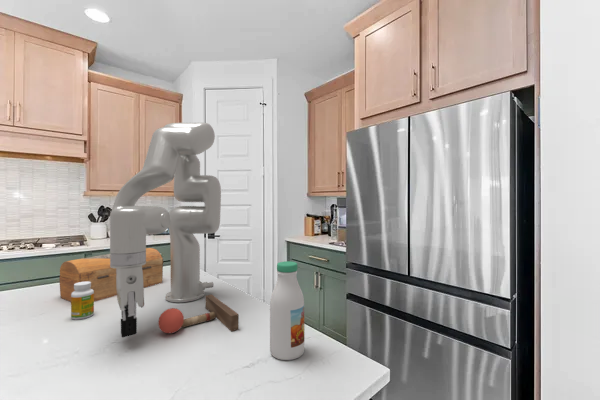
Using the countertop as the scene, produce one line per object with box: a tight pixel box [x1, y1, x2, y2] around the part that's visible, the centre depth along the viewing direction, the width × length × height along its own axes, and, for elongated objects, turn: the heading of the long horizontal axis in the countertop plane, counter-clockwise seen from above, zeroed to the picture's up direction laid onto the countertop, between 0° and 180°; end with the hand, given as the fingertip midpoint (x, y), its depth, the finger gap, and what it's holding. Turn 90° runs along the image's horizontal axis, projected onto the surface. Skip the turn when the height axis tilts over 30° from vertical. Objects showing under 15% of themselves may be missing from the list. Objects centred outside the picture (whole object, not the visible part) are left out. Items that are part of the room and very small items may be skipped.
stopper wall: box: [205, 294, 240, 332], centre depth 85 cm, size 2×20×4 cm, turn 36°
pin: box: [180, 312, 216, 329], centre depth 82 cm, size 2×2×9 cm
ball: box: [157, 307, 185, 334], centre depth 76 cm, size 6×6×6 cm
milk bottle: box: [269, 261, 305, 361], centre depth 67 cm, size 8×8×20 cm
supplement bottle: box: [70, 281, 95, 321], centre depth 87 cm, size 5×5×10 cm
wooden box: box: [59, 247, 164, 303], centre depth 112 cm, size 30×16×14 cm, turn 149°
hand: (128, 334), depth 72 cm, fingers closed
